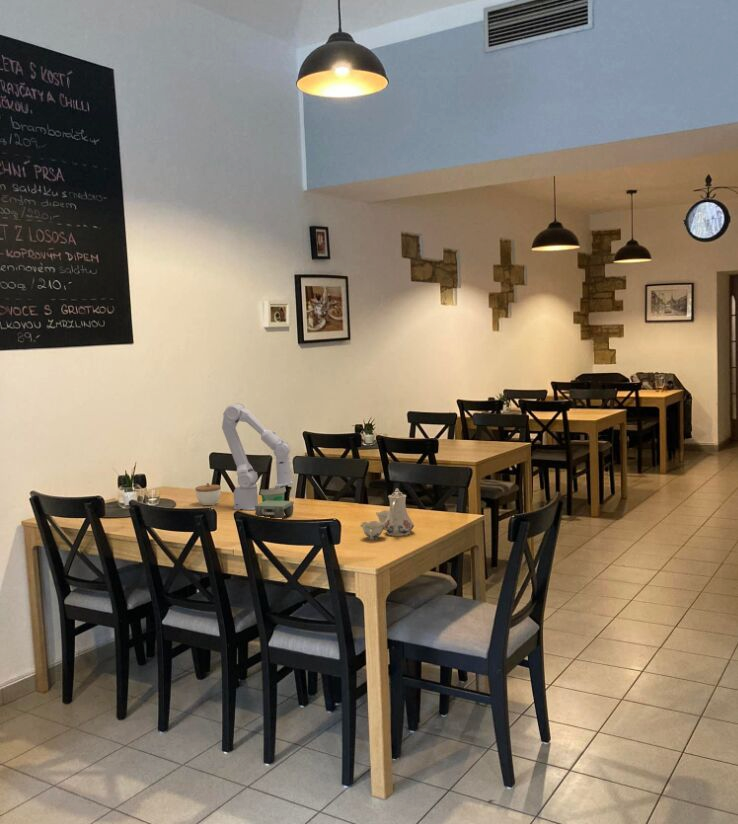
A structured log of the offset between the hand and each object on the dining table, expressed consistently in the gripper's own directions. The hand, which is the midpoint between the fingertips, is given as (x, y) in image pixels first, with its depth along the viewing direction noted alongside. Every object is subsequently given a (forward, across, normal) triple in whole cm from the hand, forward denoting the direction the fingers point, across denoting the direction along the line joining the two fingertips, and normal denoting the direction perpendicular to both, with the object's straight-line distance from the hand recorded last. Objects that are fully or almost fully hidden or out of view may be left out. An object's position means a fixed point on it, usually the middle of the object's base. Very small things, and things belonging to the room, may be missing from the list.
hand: (285, 503), depth 337 cm
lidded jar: (+2, +2, +37) cm, 37 cm away
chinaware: (+2, -35, -56) cm, 66 cm away
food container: (+2, -8, 0) cm, 8 cm away
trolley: (+2, -19, -4) cm, 19 cm away
